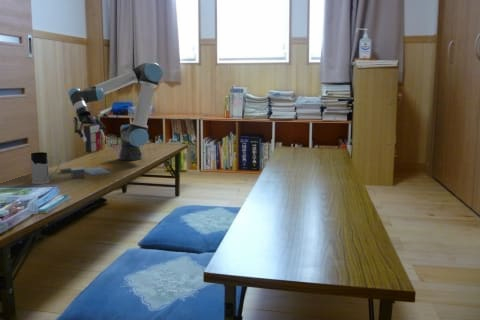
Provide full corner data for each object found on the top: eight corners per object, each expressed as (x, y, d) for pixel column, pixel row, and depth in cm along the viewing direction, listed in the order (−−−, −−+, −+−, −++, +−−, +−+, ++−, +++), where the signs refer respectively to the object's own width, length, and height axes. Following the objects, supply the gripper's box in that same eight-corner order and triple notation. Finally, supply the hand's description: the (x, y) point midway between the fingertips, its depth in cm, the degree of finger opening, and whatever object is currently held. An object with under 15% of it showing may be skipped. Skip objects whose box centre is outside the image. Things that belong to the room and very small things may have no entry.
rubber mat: (98, 168, 263) (98, 167, 263) (110, 172, 252) (110, 171, 251) (80, 170, 256) (80, 169, 256) (91, 175, 244) (91, 174, 244)
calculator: (92, 152, 246) (90, 126, 243) (85, 152, 246) (83, 125, 244) (101, 149, 256) (100, 124, 253) (95, 149, 257) (93, 123, 254)
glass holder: (32, 180, 229) (30, 152, 227) (61, 179, 234) (60, 151, 232) (30, 184, 221) (28, 155, 219) (61, 182, 226) (59, 154, 224)
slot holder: (71, 171, 255) (70, 162, 254) (84, 177, 240) (84, 168, 239) (59, 172, 251) (59, 163, 250) (73, 178, 236) (72, 169, 235)
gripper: (99, 113, 266) (112, 142, 258) (61, 116, 252) (73, 146, 243) (102, 105, 262) (115, 134, 253) (63, 107, 247) (76, 137, 238)
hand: (95, 140), depth 248 cm, fingers closed on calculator, 10 cm apart
